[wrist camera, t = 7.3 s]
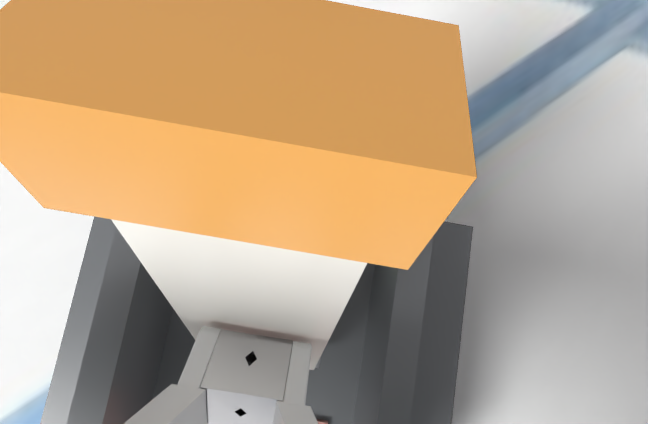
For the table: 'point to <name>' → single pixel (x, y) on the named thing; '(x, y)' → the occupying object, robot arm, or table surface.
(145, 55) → the breaker lever
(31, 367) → the table surface
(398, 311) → the grey switch base
